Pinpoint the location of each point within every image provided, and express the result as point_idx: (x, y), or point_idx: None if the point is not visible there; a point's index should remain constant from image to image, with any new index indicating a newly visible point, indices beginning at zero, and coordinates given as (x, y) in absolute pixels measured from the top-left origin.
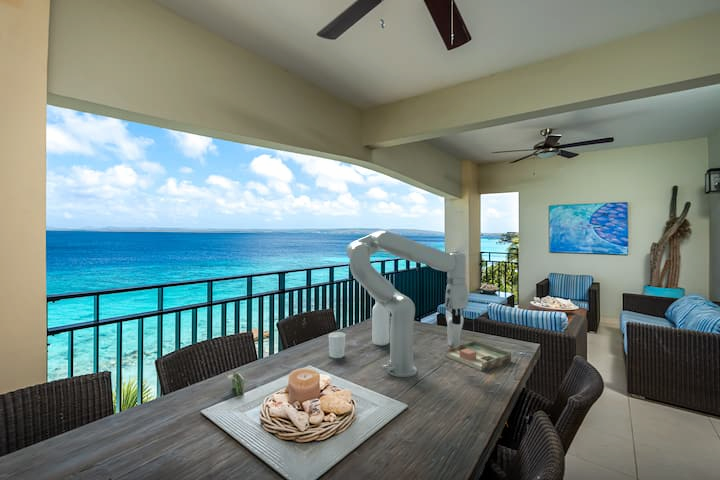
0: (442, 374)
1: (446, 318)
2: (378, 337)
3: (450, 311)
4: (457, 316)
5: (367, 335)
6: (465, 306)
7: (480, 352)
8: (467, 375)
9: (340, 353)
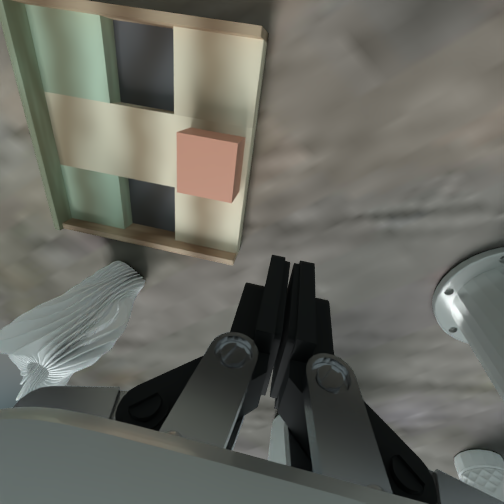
0: (432, 167)
1: (65, 384)
2: None
3: (488, 500)
4: (312, 339)
5: None
6: (90, 449)
7: (111, 152)
8: (368, 70)
9: (498, 465)
